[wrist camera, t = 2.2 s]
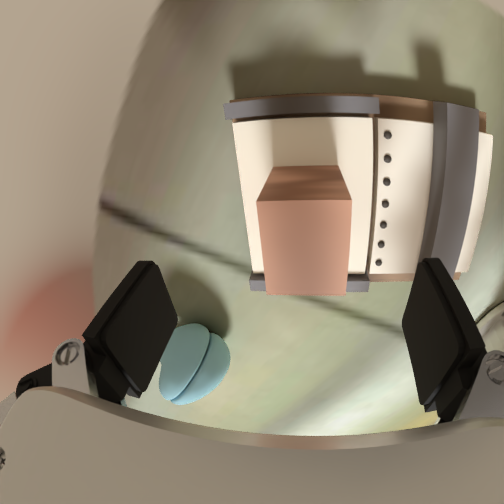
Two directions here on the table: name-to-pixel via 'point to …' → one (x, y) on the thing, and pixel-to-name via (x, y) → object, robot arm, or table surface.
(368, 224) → the block on cream tray
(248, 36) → the table surface
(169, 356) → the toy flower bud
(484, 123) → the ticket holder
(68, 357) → the robot arm
